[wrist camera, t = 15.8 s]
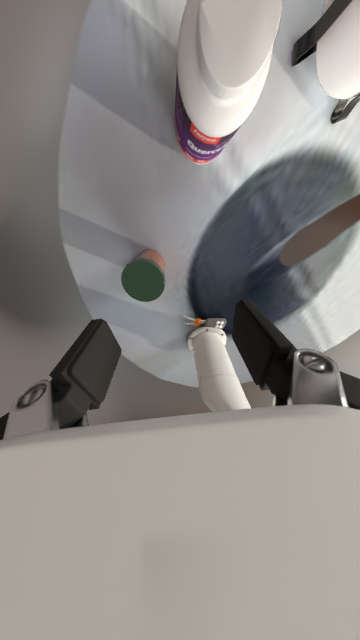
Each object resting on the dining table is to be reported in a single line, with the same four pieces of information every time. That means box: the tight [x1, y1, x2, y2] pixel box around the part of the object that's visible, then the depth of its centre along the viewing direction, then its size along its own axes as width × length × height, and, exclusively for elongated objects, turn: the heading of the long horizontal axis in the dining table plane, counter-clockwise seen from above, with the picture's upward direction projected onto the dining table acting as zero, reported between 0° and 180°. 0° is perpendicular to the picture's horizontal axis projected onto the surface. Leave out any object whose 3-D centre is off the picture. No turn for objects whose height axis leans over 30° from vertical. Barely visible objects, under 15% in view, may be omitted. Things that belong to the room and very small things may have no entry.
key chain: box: [183, 315, 226, 328], centre depth 42 cm, size 13×4×2 cm, turn 85°
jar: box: [137, 250, 165, 273], centre depth 28 cm, size 6×6×10 cm
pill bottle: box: [174, 0, 283, 165], centre depth 15 cm, size 8×8×14 cm
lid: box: [121, 258, 165, 302], centre depth 24 cm, size 7×7×2 cm
